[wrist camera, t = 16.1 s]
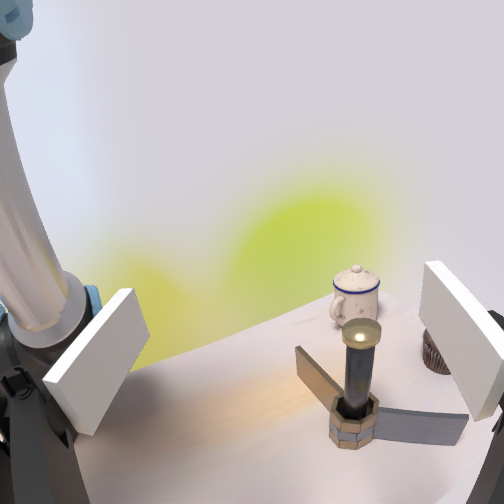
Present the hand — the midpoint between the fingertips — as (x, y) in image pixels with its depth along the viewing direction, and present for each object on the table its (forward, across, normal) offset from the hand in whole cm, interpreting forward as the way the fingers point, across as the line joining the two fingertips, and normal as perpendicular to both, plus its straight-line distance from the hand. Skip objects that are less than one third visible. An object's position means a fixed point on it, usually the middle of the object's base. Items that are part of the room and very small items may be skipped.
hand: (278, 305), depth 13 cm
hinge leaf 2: (+12, +12, -30) cm, 34 cm away
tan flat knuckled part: (+19, +4, -30) cm, 36 cm away
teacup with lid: (+41, +10, -30) cm, 52 cm away
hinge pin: (+14, +7, -30) cm, 34 cm away
